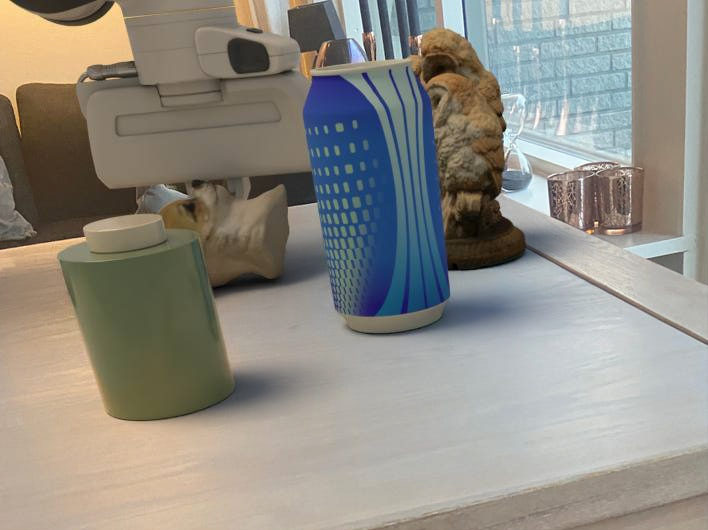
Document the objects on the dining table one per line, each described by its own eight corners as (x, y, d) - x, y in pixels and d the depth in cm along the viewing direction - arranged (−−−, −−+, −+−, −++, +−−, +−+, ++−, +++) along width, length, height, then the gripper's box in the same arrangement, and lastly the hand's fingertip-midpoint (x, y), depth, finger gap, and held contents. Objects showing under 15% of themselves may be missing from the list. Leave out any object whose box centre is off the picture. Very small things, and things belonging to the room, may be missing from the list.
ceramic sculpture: (279, 171, 75) (88, 208, 74) (307, 285, 79) (127, 321, 78) (279, 156, 83) (108, 188, 82) (304, 259, 88) (142, 291, 87)
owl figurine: (355, 246, 92) (324, 37, 82) (463, 224, 96) (445, 23, 86) (436, 279, 78) (410, 34, 69) (558, 252, 82) (549, 18, 73)
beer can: (315, 323, 70) (271, 73, 61) (407, 297, 75) (377, 58, 66) (380, 344, 65) (341, 71, 56) (475, 314, 69) (453, 55, 60)
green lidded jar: (83, 423, 57) (22, 242, 51) (134, 377, 63) (86, 213, 58) (211, 416, 56) (164, 232, 50) (250, 371, 62) (212, 203, 57)
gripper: (52, 70, 77) (105, 250, 85) (299, 44, 75) (330, 232, 82) (85, 64, 82) (132, 235, 90) (317, 40, 80) (344, 217, 87)
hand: (229, 233), depth 86 cm, fingers closed
